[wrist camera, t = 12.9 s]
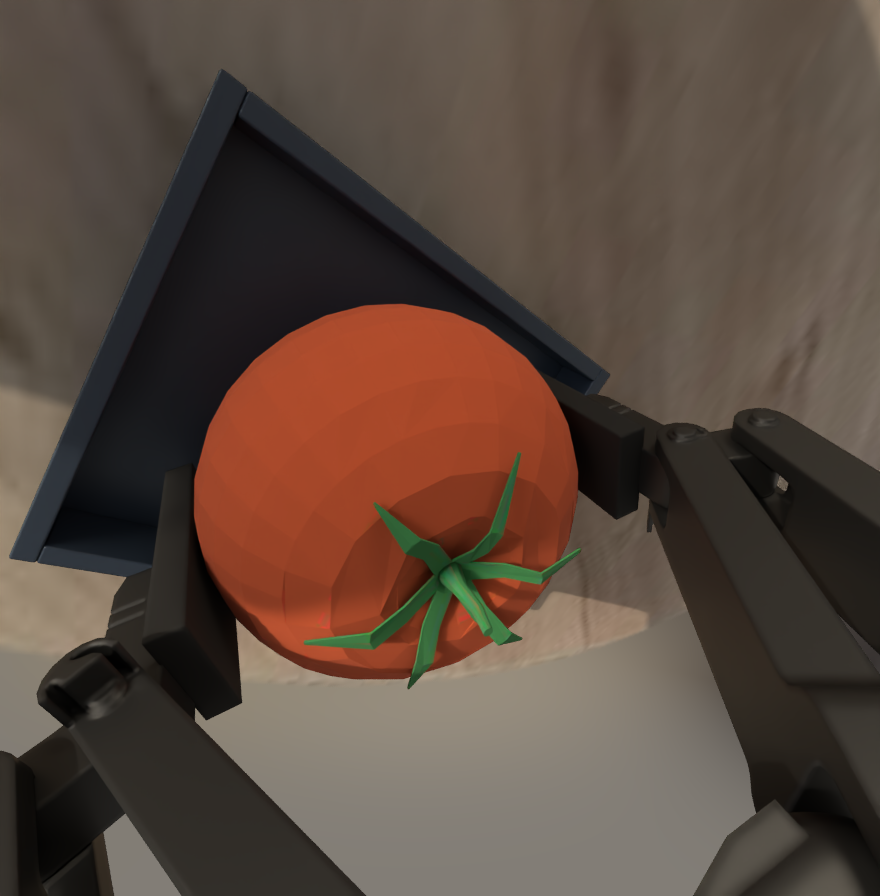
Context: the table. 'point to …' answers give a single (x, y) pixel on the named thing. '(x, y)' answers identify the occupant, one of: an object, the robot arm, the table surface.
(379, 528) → the tomato
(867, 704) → the robot arm
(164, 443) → the tray
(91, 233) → the table surface
